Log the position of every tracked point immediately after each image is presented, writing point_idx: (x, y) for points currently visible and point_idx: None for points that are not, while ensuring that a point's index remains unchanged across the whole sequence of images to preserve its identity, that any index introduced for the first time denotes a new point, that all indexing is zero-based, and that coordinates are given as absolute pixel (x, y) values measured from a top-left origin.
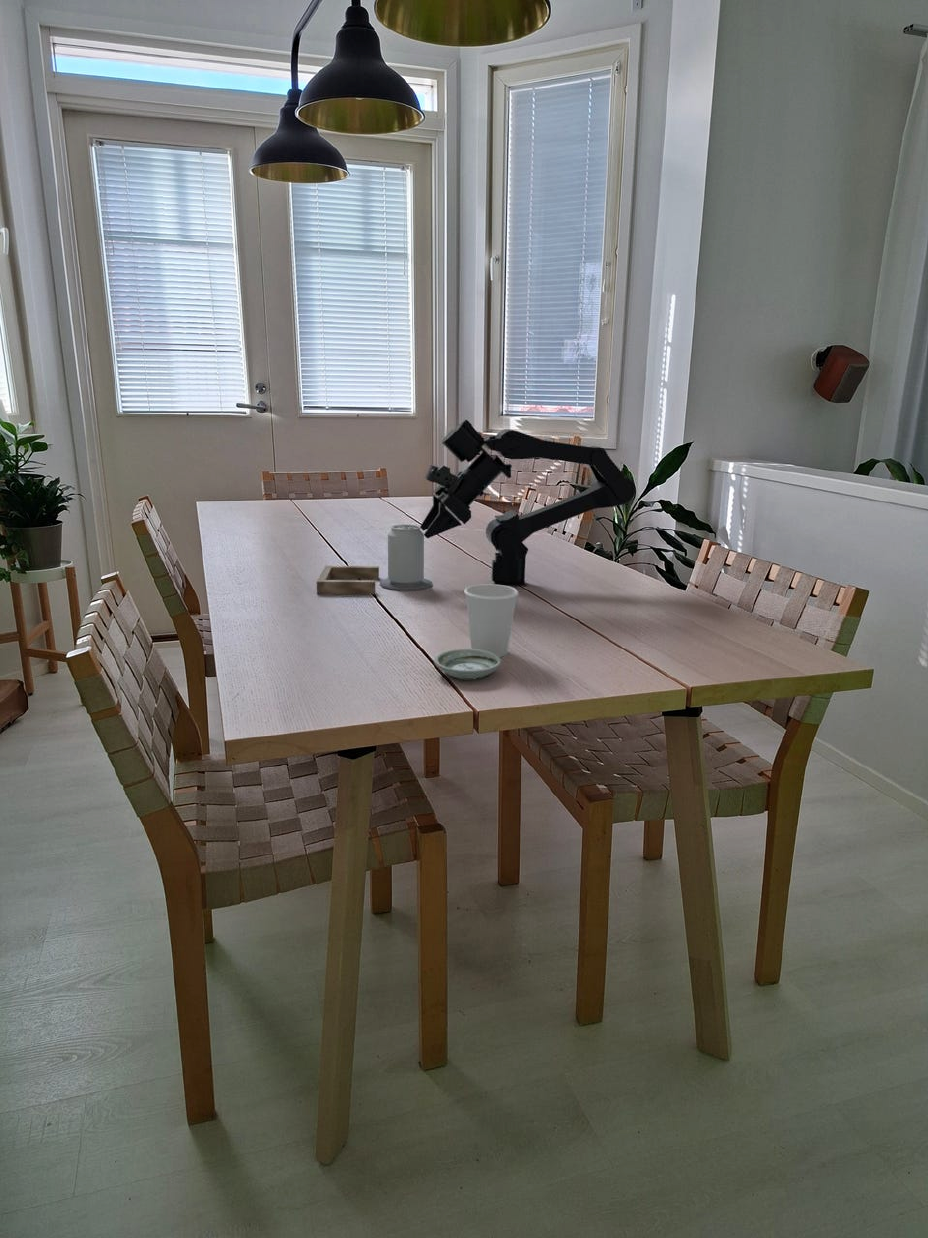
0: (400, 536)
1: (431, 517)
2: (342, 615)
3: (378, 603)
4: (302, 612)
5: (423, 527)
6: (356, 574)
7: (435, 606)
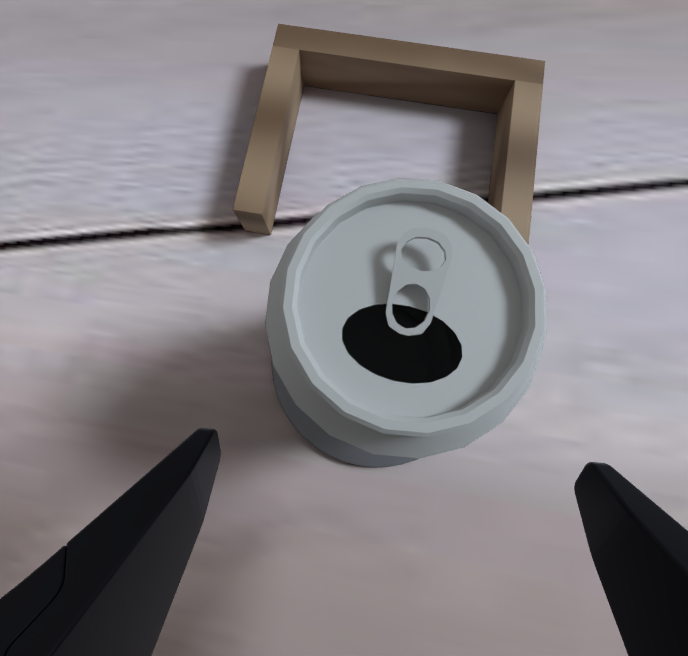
0: (283, 255)
1: (680, 626)
2: (14, 116)
3: (122, 228)
4: (79, 20)
5: (588, 491)
6: (495, 183)
7: (30, 412)
